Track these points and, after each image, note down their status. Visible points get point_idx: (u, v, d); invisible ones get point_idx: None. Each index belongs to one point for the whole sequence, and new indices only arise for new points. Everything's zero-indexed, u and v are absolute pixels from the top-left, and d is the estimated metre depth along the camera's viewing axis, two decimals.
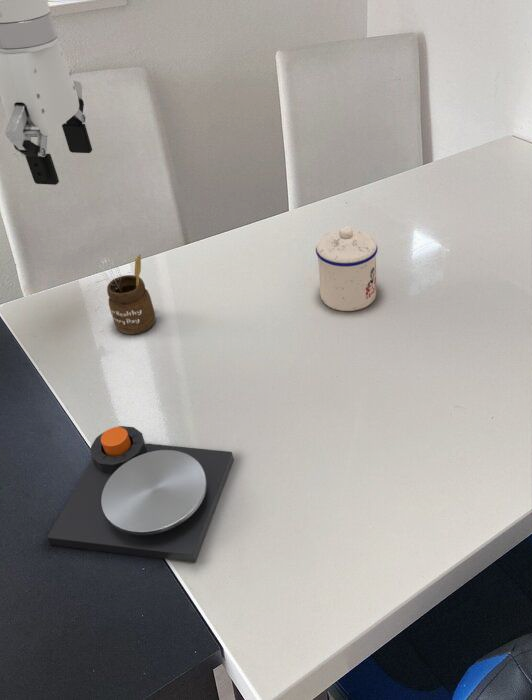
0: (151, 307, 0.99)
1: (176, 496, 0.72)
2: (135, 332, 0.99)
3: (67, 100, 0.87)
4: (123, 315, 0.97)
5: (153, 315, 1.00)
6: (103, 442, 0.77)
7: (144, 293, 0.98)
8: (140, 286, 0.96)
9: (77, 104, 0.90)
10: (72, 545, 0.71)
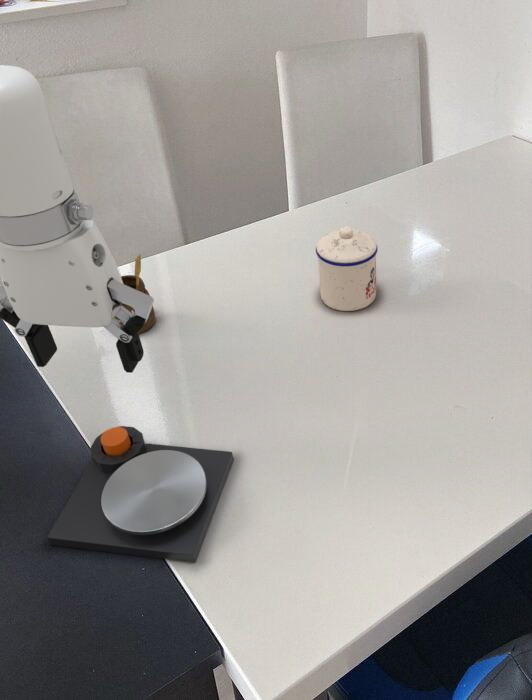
0: None
1: (176, 496, 0.72)
2: None
3: (69, 309, 0.64)
4: None
5: (153, 315, 1.00)
6: (103, 442, 0.77)
7: None
8: (140, 286, 0.96)
9: (99, 321, 0.65)
10: (72, 545, 0.71)
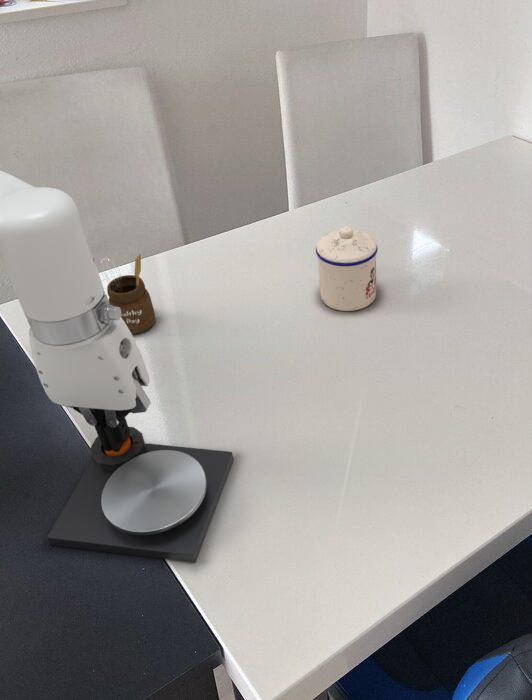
0: (151, 307, 0.99)
1: (176, 496, 0.72)
2: (135, 332, 0.99)
3: (97, 395, 0.70)
4: (123, 315, 0.97)
5: (153, 315, 1.00)
6: None
7: (144, 293, 0.98)
8: (140, 286, 0.96)
9: (124, 405, 0.71)
10: (72, 545, 0.71)
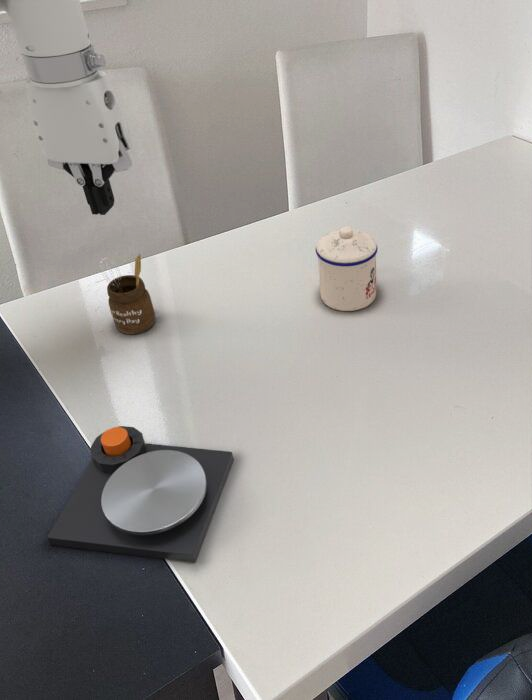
0: (151, 307, 0.99)
1: (176, 496, 0.72)
2: (135, 332, 0.99)
3: (85, 146, 0.81)
4: (123, 315, 0.97)
5: (153, 315, 1.00)
6: (103, 442, 0.77)
7: (144, 293, 0.98)
8: (140, 286, 0.96)
9: (108, 157, 0.81)
10: (72, 545, 0.71)
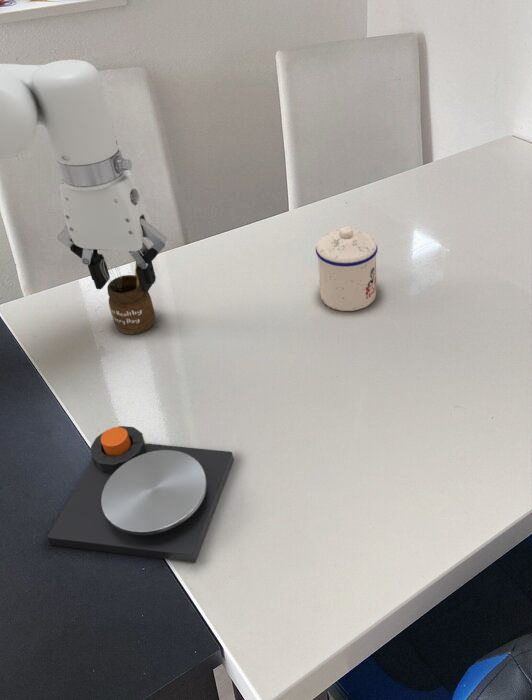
0: (151, 307, 0.99)
1: (176, 496, 0.72)
2: (135, 332, 0.99)
3: (112, 236, 0.89)
4: (123, 315, 0.97)
5: (153, 315, 1.00)
6: (103, 442, 0.77)
7: (144, 293, 0.98)
8: None
9: (133, 246, 0.90)
10: (72, 545, 0.71)
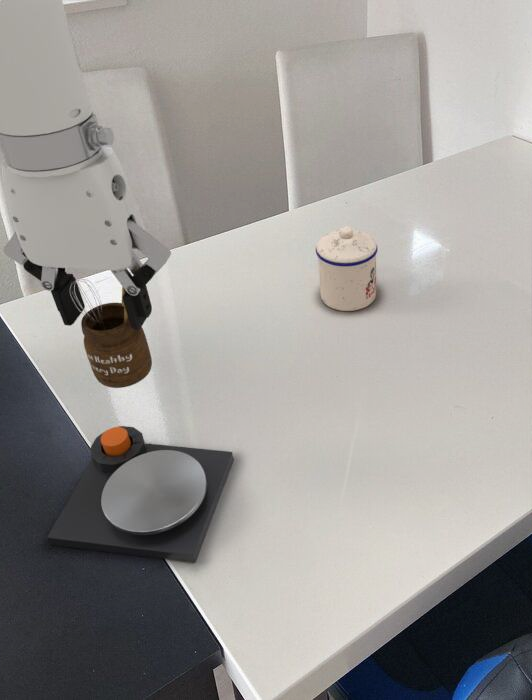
0: (146, 349, 0.69)
1: (176, 496, 0.72)
2: (123, 385, 0.68)
3: (85, 249, 0.58)
4: (105, 362, 0.66)
5: (149, 360, 0.69)
6: (103, 442, 0.77)
7: None
8: None
9: (117, 262, 0.59)
10: (72, 545, 0.71)
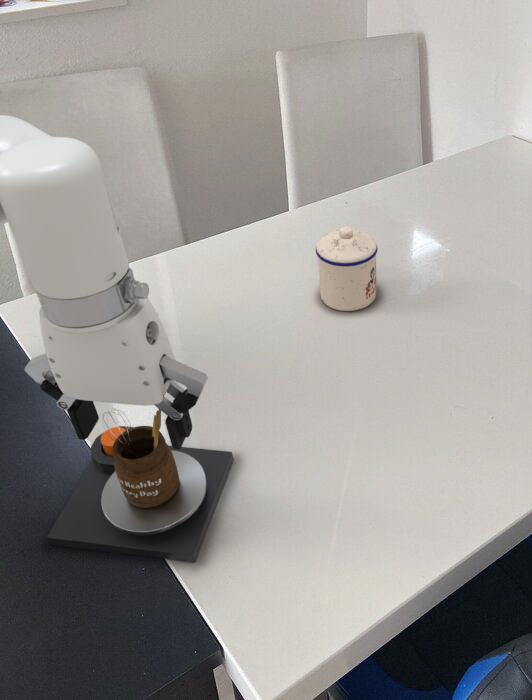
0: (174, 469, 0.71)
1: (176, 496, 0.72)
2: (152, 506, 0.70)
3: (118, 388, 0.60)
4: (135, 487, 0.68)
5: (177, 479, 0.72)
6: (103, 442, 0.77)
7: (165, 453, 0.69)
8: (160, 447, 0.68)
9: (149, 400, 0.61)
10: (72, 545, 0.71)
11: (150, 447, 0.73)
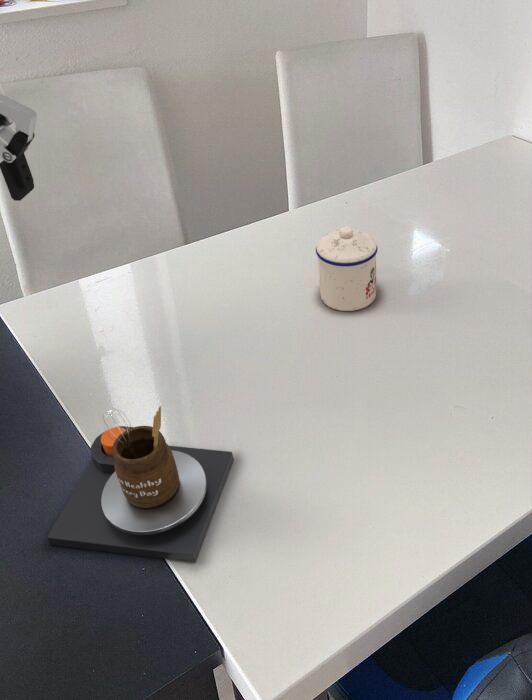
0: (174, 469, 0.71)
1: (176, 496, 0.72)
2: (152, 506, 0.70)
3: None
4: (135, 487, 0.68)
5: (177, 479, 0.72)
6: (103, 442, 0.77)
7: (165, 453, 0.69)
8: (160, 447, 0.68)
9: None
10: (72, 545, 0.71)
11: (150, 447, 0.73)
